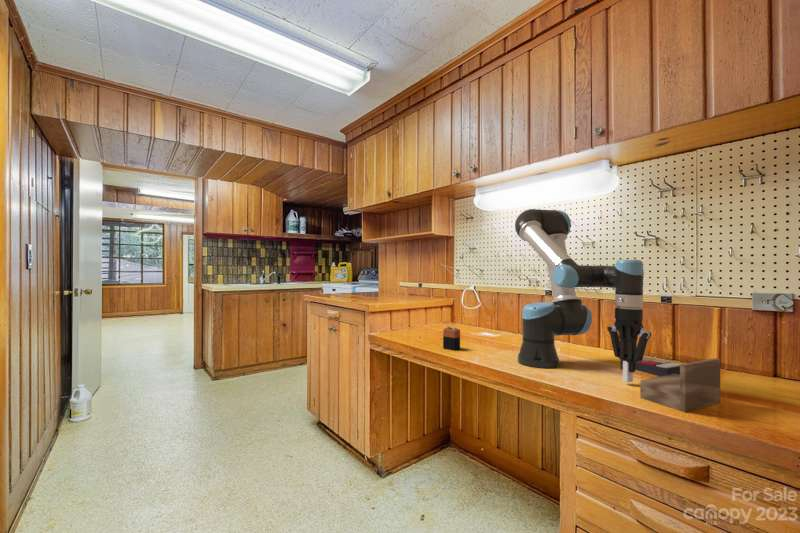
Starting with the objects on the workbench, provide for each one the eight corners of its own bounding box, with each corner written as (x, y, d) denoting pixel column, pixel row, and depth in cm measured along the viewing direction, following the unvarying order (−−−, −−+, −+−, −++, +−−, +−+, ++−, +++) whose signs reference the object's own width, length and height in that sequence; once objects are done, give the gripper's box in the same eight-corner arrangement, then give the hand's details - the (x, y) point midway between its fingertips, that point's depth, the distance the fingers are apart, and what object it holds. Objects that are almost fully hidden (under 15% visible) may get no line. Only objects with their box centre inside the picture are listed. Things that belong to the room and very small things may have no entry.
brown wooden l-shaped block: (640, 397, 102) (640, 355, 102) (675, 389, 109) (675, 350, 109) (685, 412, 92) (685, 365, 92) (720, 402, 99) (720, 359, 99)
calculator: (642, 355, 138) (686, 363, 125) (643, 366, 138) (687, 375, 125) (624, 358, 134) (667, 366, 120) (624, 369, 134) (668, 379, 120)
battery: (448, 347, 166) (448, 325, 166) (460, 349, 162) (460, 327, 162) (442, 348, 163) (442, 326, 163) (455, 350, 158) (455, 328, 158)
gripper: (601, 306, 118) (600, 376, 118) (642, 310, 106) (641, 389, 106) (616, 305, 121) (615, 374, 121) (657, 309, 109) (656, 386, 109)
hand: (627, 381), depth 114 cm, fingers closed
